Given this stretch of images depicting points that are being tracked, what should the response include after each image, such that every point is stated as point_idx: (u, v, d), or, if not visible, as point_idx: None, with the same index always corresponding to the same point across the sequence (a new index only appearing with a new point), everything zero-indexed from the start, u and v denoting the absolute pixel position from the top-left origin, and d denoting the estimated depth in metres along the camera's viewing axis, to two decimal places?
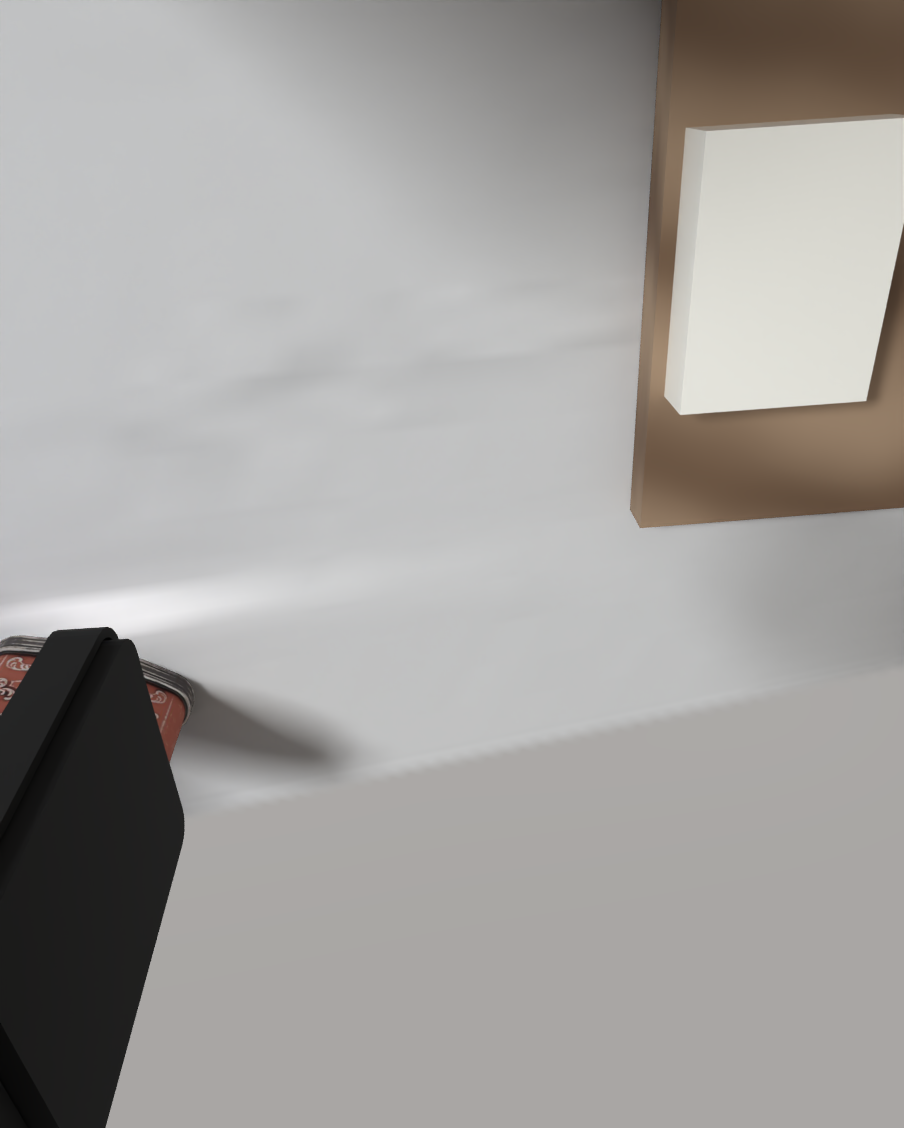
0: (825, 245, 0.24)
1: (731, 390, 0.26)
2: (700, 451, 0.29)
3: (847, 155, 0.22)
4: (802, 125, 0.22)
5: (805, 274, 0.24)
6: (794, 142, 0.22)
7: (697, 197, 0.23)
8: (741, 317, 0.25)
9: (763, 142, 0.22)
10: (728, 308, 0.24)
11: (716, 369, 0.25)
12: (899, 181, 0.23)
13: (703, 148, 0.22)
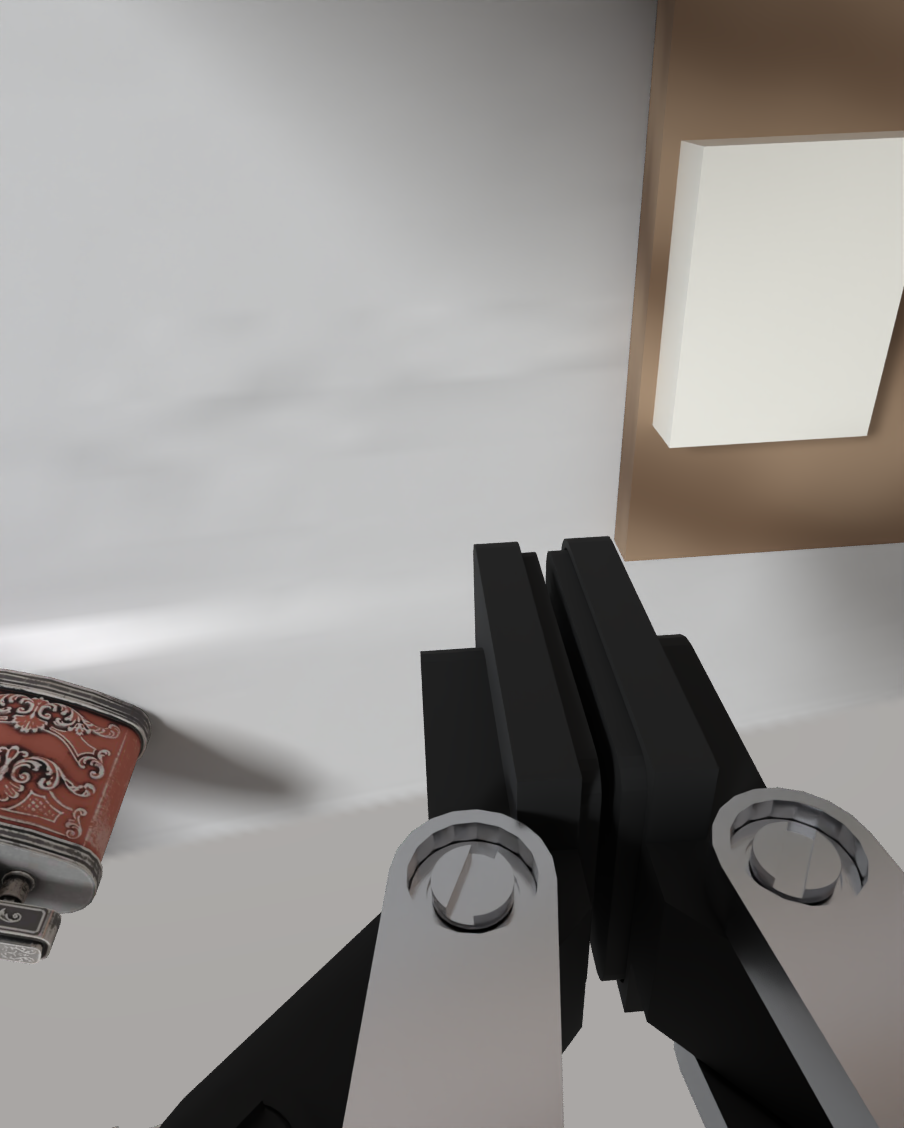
0: (828, 271, 0.22)
1: (724, 422, 0.24)
2: (689, 483, 0.27)
3: (855, 176, 0.21)
4: (808, 142, 0.20)
5: (806, 302, 0.22)
6: (798, 160, 0.20)
7: (692, 217, 0.21)
8: (737, 346, 0.23)
9: (765, 160, 0.20)
10: (724, 337, 0.23)
11: (709, 400, 0.24)
12: None
13: (700, 165, 0.20)
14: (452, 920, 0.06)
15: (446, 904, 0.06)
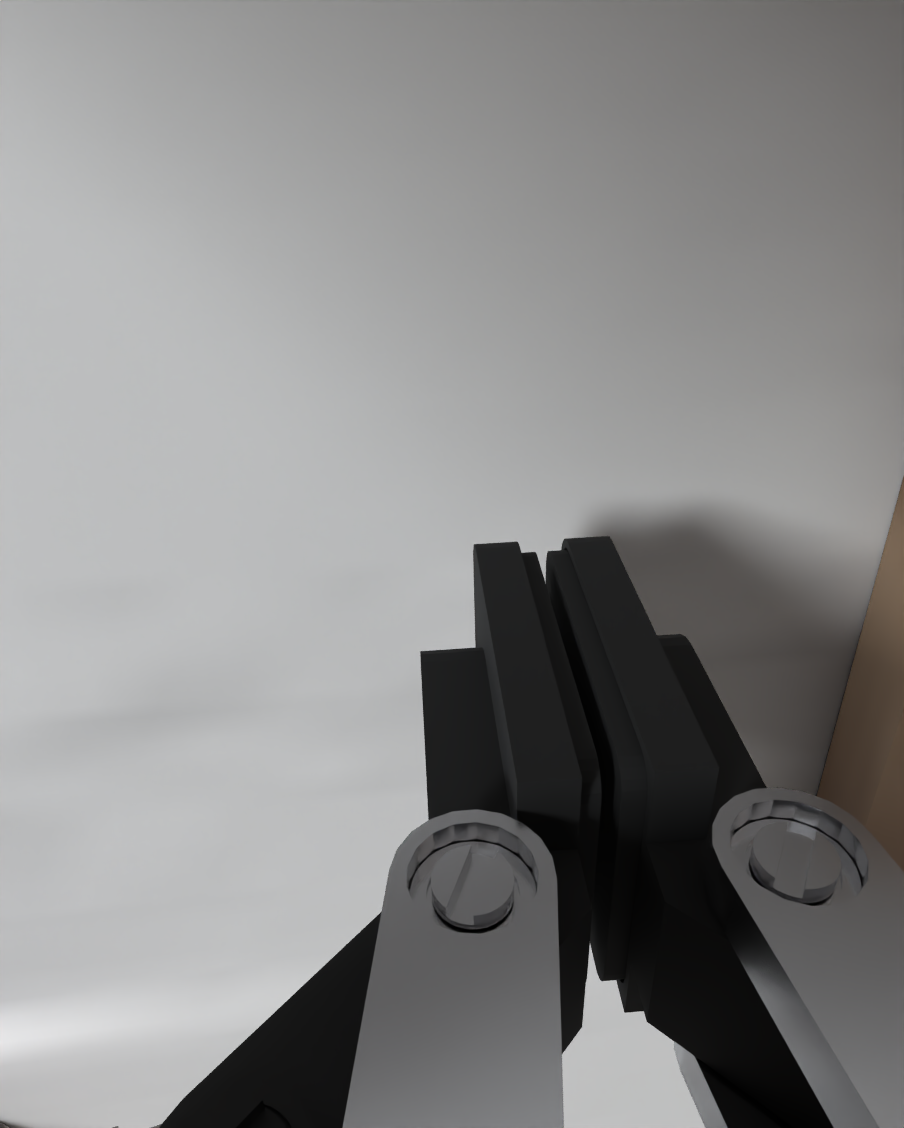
0: None
1: None
2: None
3: None
4: None
5: None
6: None
7: None
8: None
9: None
10: None
11: None
12: None
13: None
14: (452, 920, 0.06)
15: (446, 904, 0.06)
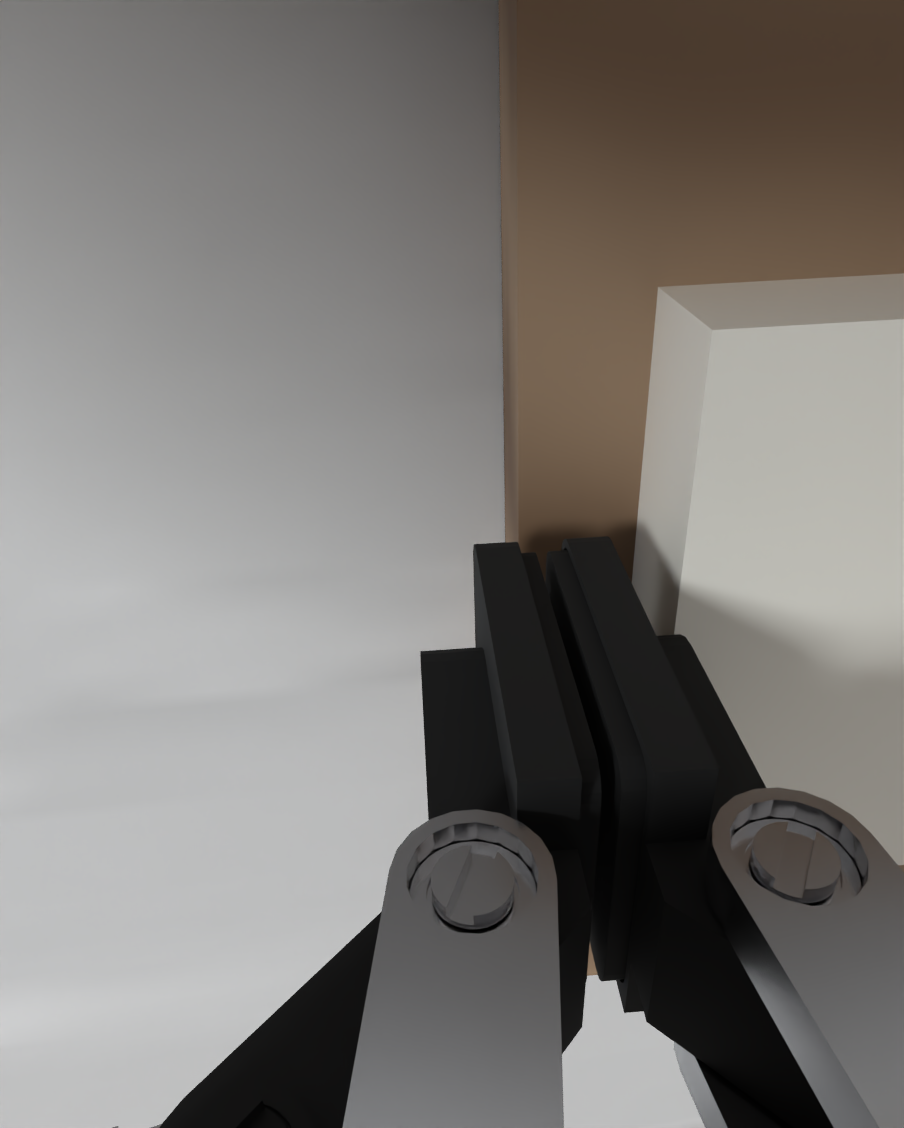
0: None
1: None
2: None
3: None
4: None
5: None
6: None
7: (685, 480, 0.09)
8: (786, 723, 0.10)
9: (871, 359, 0.08)
10: (758, 708, 0.10)
11: None
12: None
13: (703, 371, 0.08)
14: (452, 920, 0.06)
15: (446, 904, 0.06)
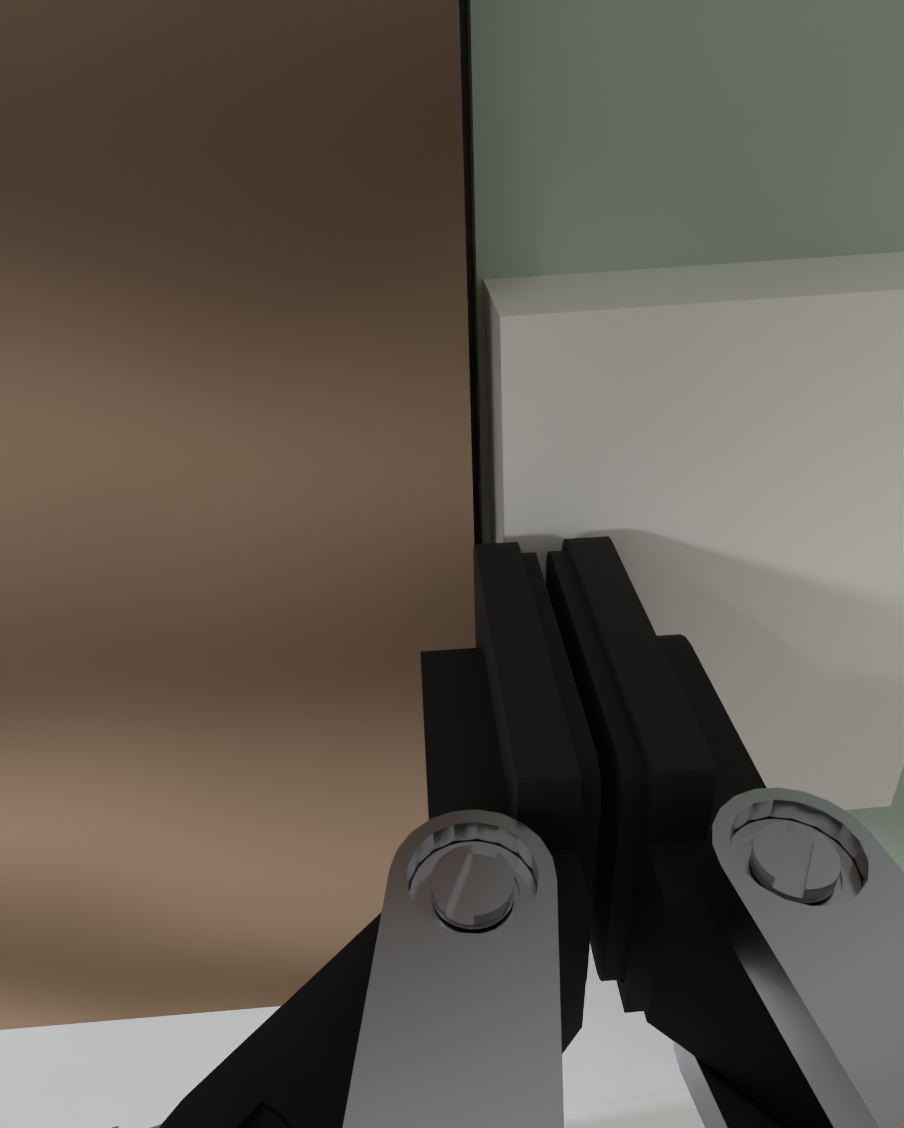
0: (806, 549, 0.10)
1: None
2: (16, 929, 0.14)
3: (859, 367, 0.09)
4: (746, 301, 0.09)
5: (761, 604, 0.11)
6: (727, 340, 0.09)
7: (500, 454, 0.10)
8: None
9: (650, 341, 0.09)
10: None
11: None
12: None
13: (500, 355, 0.09)
14: (452, 920, 0.06)
15: (446, 904, 0.06)
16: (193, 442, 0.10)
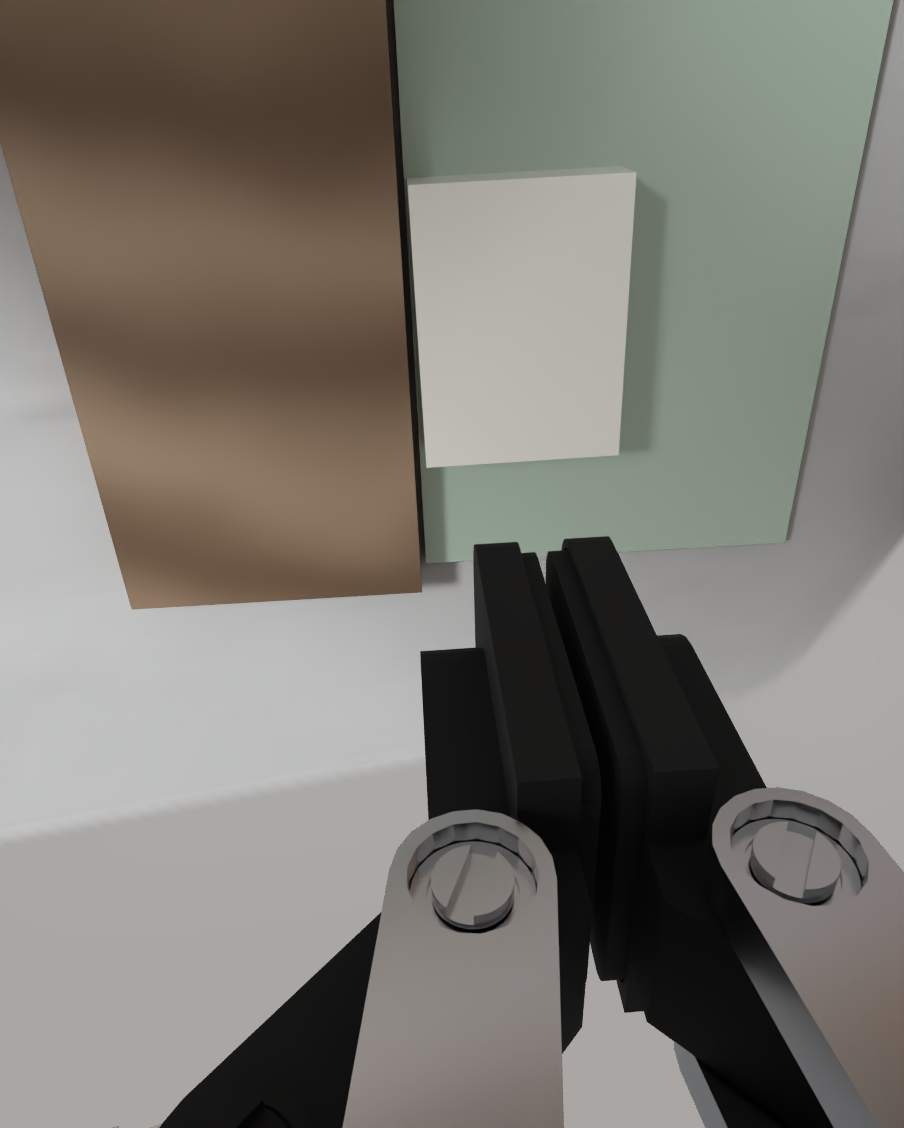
0: (551, 300, 0.23)
1: (475, 443, 0.25)
2: (171, 532, 0.27)
3: (559, 210, 0.22)
4: (507, 180, 0.21)
5: (534, 329, 0.23)
6: (502, 197, 0.22)
7: (412, 250, 0.22)
8: (474, 371, 0.24)
9: (469, 196, 0.22)
10: (460, 362, 0.24)
11: (457, 422, 0.25)
12: (618, 237, 0.22)
13: None
14: (452, 920, 0.06)
15: (446, 904, 0.06)
16: (279, 246, 0.23)
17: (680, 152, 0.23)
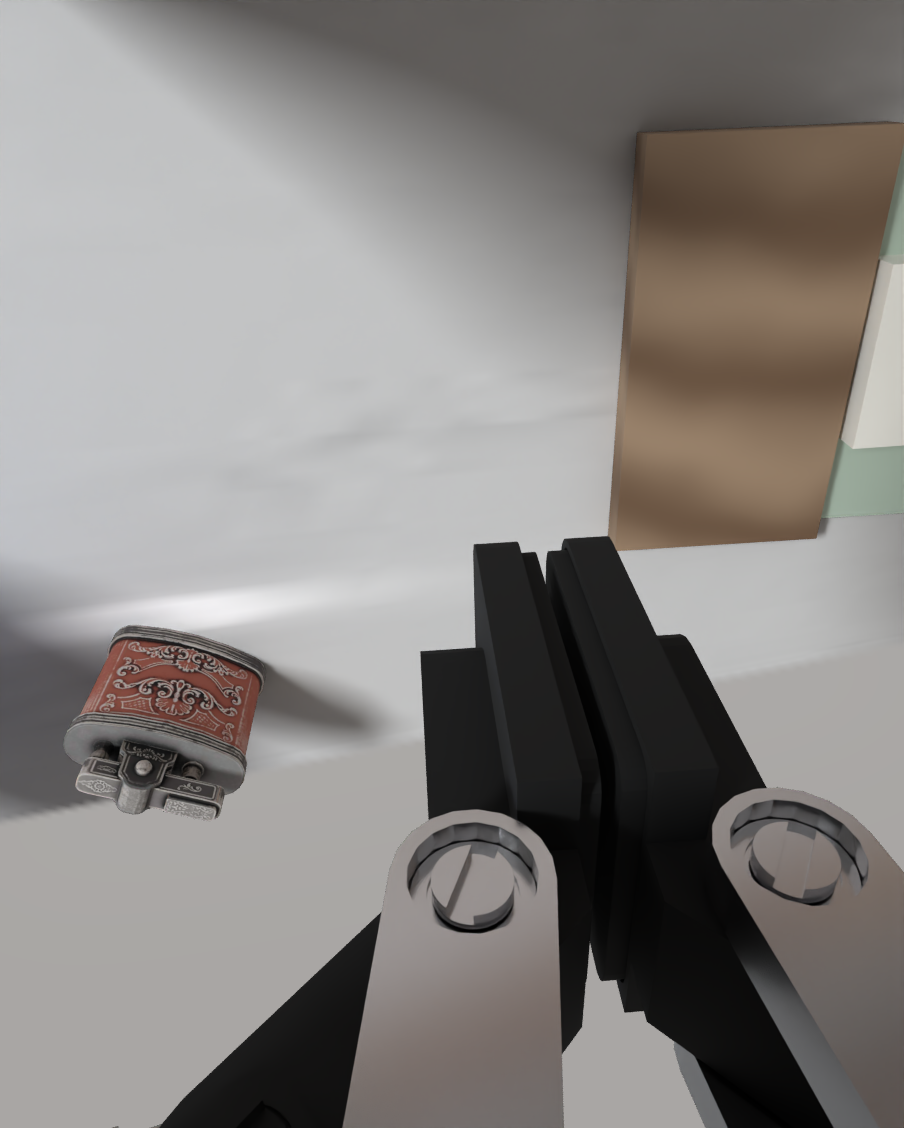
0: None
1: (890, 432, 0.37)
2: (659, 495, 0.39)
3: None
4: None
5: None
6: None
7: (881, 305, 0.34)
8: (902, 383, 0.36)
9: None
10: (894, 377, 0.35)
11: (881, 418, 0.36)
12: None
13: (889, 275, 0.33)
14: (452, 920, 0.06)
15: (446, 904, 0.06)
16: (791, 302, 0.34)
17: None
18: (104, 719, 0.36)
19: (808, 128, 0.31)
